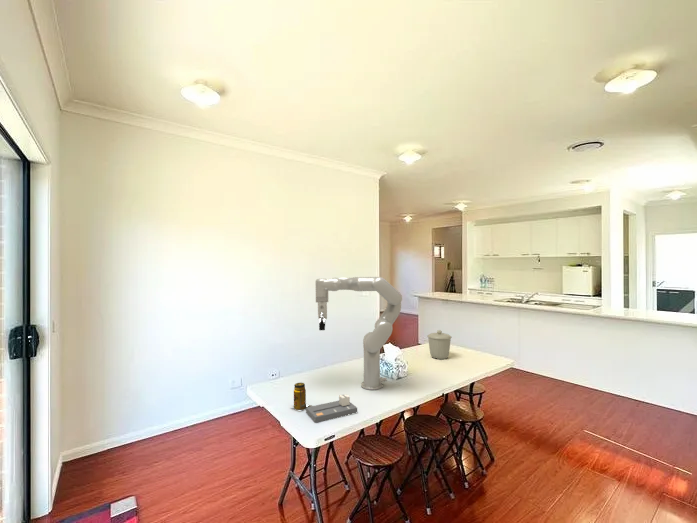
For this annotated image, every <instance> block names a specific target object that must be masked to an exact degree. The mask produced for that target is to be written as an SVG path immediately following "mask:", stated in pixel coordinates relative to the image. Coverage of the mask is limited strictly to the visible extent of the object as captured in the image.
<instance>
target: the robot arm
mask: <svg viewBox="0 0 697 523" xmlns="http://www.w3.org/2000/svg"><path fill="white" fill-rule="evenodd" d="M344 290H346V291H355V292H377V294H378V295H380V296H381V297H382V298H383V299H384V300H386V307H385V309H384V310H383V312H382V313H381V315H380V316H379V317H378V319H377V320H376V321H375V322H374V329H373V330H372V331H371V332H370V331H369V332H367V333H366V334H365V335H364V337H363V340H362V341H363V342H362V344H363V382H361V383H360V386H361V388H363V389H365V390H369V391H370V390H372V391H374V390H375V391H376V390H380V389H382V388H383V382H387V381H388V379H387V377H381V372H380V370H381V361H380V360H381V349H382V347H384V345H385V344H386V342H388V340H389V338H390V337H391V335H392V334H393V329H394V328H393V324H394V323H395V321H396V320H397V319H398V317H399V316H400V313H401V309H402V301H403V295H402V294H401V292H400V291H399V290H397V289H396V288H395V287H394V286H393V285H392V284H391V283H389V281H387V280H386V278H384V277H382V276H354V277H332V278H328V279H327V278H317V279H316V280H315V303H317V315H318V316H317V317H318V319H319V325H318V327H319V331H325V330H326V320H327V319H328V304H327V303H329V292H337V291H344Z"/></svg>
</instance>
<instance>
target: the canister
mask: <svg viewBox="0 0 697 523" xmlns="http://www.w3.org/2000/svg"><path fill="white" fill-rule="evenodd" d="M427 337H428V338H427V339H428V346H429V355H430V356H431V357H432V358H433V359H435V358H437V359H436V360H446V359H448V358H449V356H450V349H451V339H452V336H451V335H450V334H448V333H444V332H442V330H441V329H438V330H437V331H436V332H431V333H429V334H428V335H427Z"/></svg>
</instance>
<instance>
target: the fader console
mask: <svg viewBox="0 0 697 523" xmlns="http://www.w3.org/2000/svg"><path fill="white" fill-rule="evenodd" d="M356 412H357V413H358V407H357V406H356V405H354V404H353V403H352V402H351V401H350V405H346V406H341V405H340V404H339V400H335V401H331V402H330V401H329V402H326V403H321V404H315V405H311V407H306V409H305V413H306V415H307V416H308V417H309V418H310V420H312V421H313V422H314V423H315V424H317V423H321V422H325V420H326V421H330V420H334V419H338V418H341V416H342V417H346V416H349V415H348V414H350V415H353V414H352V413H355V414H357V413H356ZM345 415H346V416H345ZM337 417H338V418H337ZM333 418H334V419H333ZM329 419H330V420H329Z"/></svg>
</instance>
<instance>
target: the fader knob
mask: <svg viewBox="0 0 697 523" xmlns="http://www.w3.org/2000/svg"><path fill="white" fill-rule="evenodd" d="M350 398H351V397H350V395H348V394H341V395H339V397H338V399H339V400H338V401H339V404H340V405H341V406H346V405H350V402H351V400H350Z"/></svg>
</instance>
